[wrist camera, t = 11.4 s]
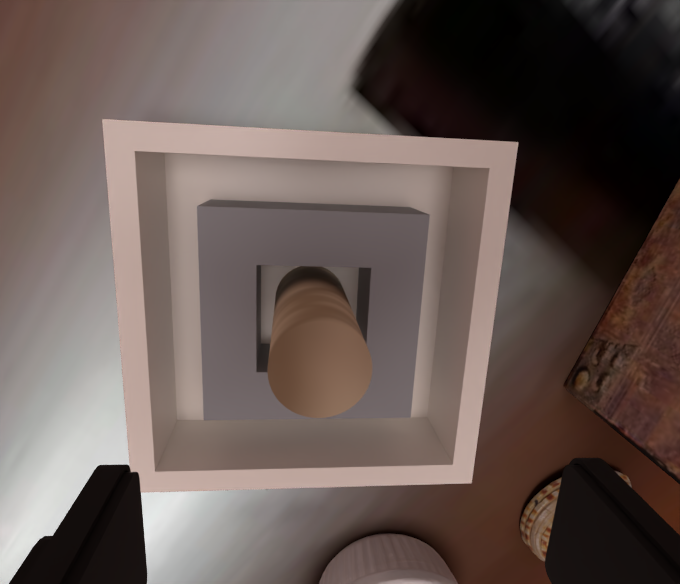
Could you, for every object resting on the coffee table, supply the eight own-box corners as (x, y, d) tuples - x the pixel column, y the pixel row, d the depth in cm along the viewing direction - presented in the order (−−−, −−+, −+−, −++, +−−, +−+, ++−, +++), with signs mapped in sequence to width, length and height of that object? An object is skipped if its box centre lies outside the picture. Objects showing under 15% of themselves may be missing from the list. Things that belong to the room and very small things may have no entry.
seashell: (675, 496, 33) (646, 614, 32) (608, 474, 39) (580, 574, 37) (586, 454, 31) (549, 577, 30) (529, 437, 37) (496, 541, 35)
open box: (470, 145, 27) (518, 142, 22) (438, 425, 32) (471, 483, 26) (144, 128, 25) (102, 119, 20) (161, 429, 30) (131, 492, 24)
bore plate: (409, 206, 27) (429, 214, 23) (394, 384, 30) (410, 417, 26) (210, 199, 26) (196, 206, 22) (215, 385, 29) (203, 420, 25)
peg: (345, 265, 27) (375, 321, 18) (342, 331, 28) (369, 417, 19) (275, 263, 27) (267, 320, 17) (275, 330, 28) (267, 418, 18)
